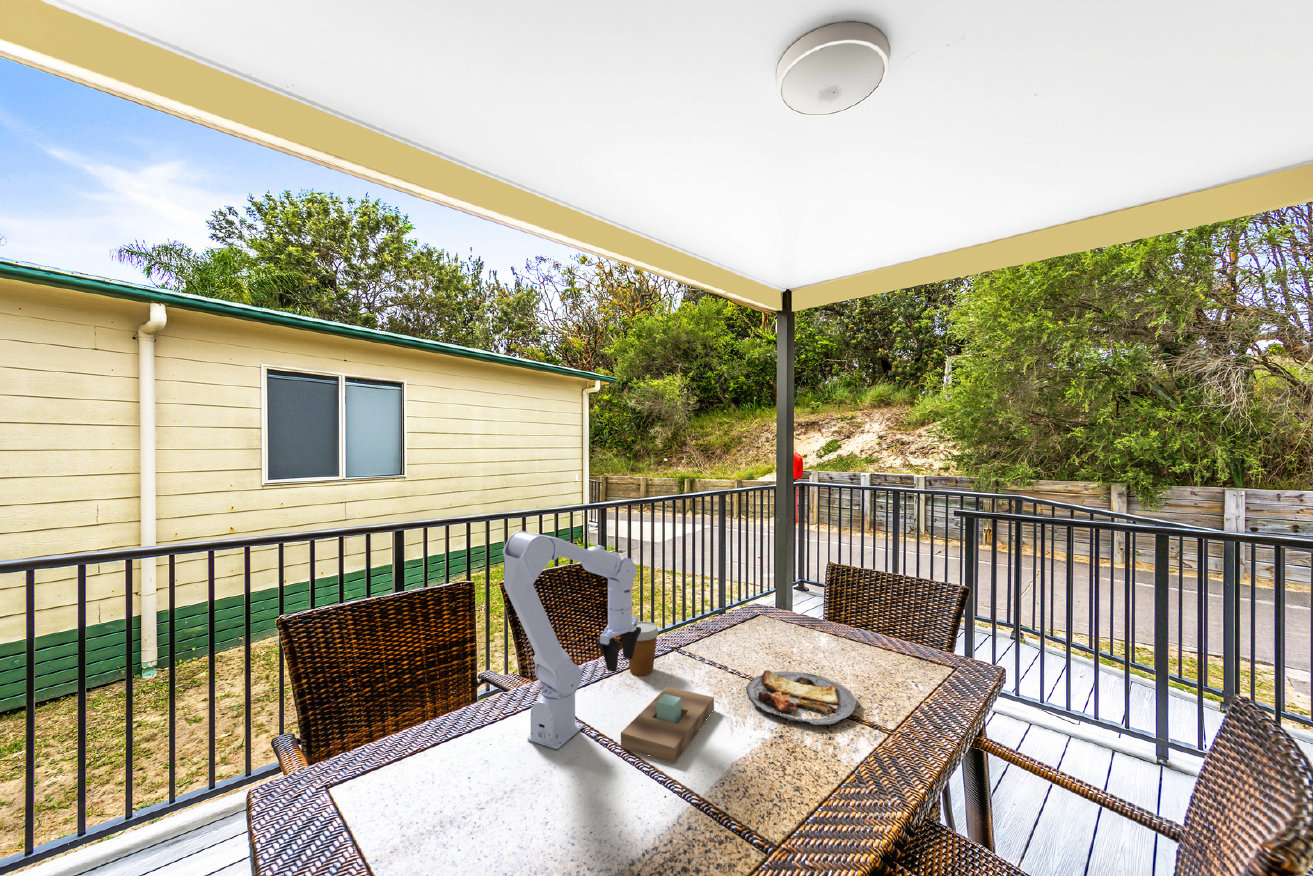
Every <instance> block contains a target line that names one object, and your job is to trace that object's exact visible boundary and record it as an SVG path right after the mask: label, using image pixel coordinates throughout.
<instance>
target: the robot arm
mask: <svg viewBox="0 0 1313 876" xmlns="http://www.w3.org/2000/svg"><path fill="white" fill-rule="evenodd" d="M502 554H503V558H504V568H503V569H504V574H503V587H504V590H505V592H506V593H507V596H508V598H509V600H510V602H511V604H512V606H513V609H514V611H515V613H516V616H517V617H518V619H519V621H520V624H521V626H522V628H523V631H524V632H525V634H526V637H527V639H528V641H529V643H530V645H531V648H532V649H533V652H534V653H535V654H534V656H533V657H532V659H533V660H532V661H533V662H534V666H535V667H534V668H535V669H534V675H535V677H536V679H537V680H538V681H539V682H540V695H539V697H538V698H537V700H536V702H535V703H534V704H533V705H532V706H531V708H530V734H529V736H527V737H526V738H527V741H529V742H533V743H536V744H538V745H539V744H540V745H542V746H544V747H547V748H551V749H555V750H558V749H560V748H561V747H562V746H563V745H564V744H566V743H567V742H568V741H569V740H570V739H572V738H573V736H575V735H576V734H577V733H578V732H579V731H581V730H582V729H583V728H584V723H580V722H576V693H577V690H578V688H579V687H580V684H581V683H582V678H583V675H582V670H581V668H580V666H578V664H576V663H574V661H572V660H573V659H572V658H571V656H570V655H569V654H568V653H567V652H566V651H565V649H564V648H563V647H562V646H561V644H560V641H559V640H558V637H557V635H556V633H555V630H554V628H553V626H552V624H551V621H550V620H549V617H548V615H547V613H546V610H545V608H544V605H543V604H542V601H541V599H540V597H539V595H538V592H537V590H536V588H535V586H534V583H535V582H536V581H537V579H538V577H539V576H540V575H541V574H542V572H543V571H544V570H545V569H546V567H547V566H548V564H549V563H550V561H551V560H552V561H555V560H557V559H558V558H559V557H561V558H566V559H568V560H572V561H575V562H579V563H581V565H582V568H583V569H584V570H585V571H586V572H589V573H592V574H595V575H598V576H601V577H605V578H606V579H607V625H606V627H605V628H604V630H603V632H602V633H601V634H599V639H598V640H597V646H598V647H599V649H600V651H601V653H602V656H603V658H604V663H605V665H606V669H607V671H609V672H613V673H616V672H617V669H618V663H619V655H620V654H619V653H620V650H621V647H622V654H623V658H624V659H626V660H629V659H632V658H633V654H634V650H635V645H636V642H637V639H638V637H639V634H640V633H641V628H640V627H636V626H637V625H638V622H639V616H634V615H633V594H632V593H633V592H632V591H633V587H634V580H635V578H636V576H637V573H638V568H637V567H636V564H635V562H634V561H633V559H631V558H629V557H625V556H621V555H619V554H620V553H619V552H617V551H612V552H611V551H608V550H605V546H603V545H599V544H596V546H595V545H593V546H589V547H588V548H587V549H586V548H584V547H582V546H579V545H577V544H575V543H572V542H570V541H567V540H564V539H562V538H560V537H555V536H550V535H547V534H546V535H544V534H540V533H539V534H538V533H533V532H532V533H531V532H528V531H525V530H519V531H515V532H513V533H512V534H511V535H510V536H509V537H508V538H507V541H506V543H505V544H504V547H503V549H502ZM618 636H620V639H621V642H619V641H617V640H616V637H618Z"/></svg>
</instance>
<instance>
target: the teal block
mask: <svg viewBox="0 0 1313 876" xmlns="http://www.w3.org/2000/svg"><path fill="white" fill-rule="evenodd" d="M657 719H660V720H664V721H668V722H672V723H676V724H678V722H679V721H680V720H681V698H680V697H676V696H671V695H667V694H664V695H663V696H662V697H661V698H660V699H659V700H658V701H657Z"/></svg>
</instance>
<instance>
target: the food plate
mask: <svg viewBox="0 0 1313 876" xmlns="http://www.w3.org/2000/svg"><path fill="white" fill-rule="evenodd" d="M745 692H746V694H747V697H748V700H749V701H750V702H751V703H752V705H753V706H755V707H759V708H761V711H762V712H766V713H770V714H771V715H772V714H774V715H777V716H780V717H781V718H782V719H783V718H784V719H787V721H789V722H790V721H791V722H792V721H795V722H801V723H803V722H806V723H809V724H811V725H817V726H818V725H822V726H823V725H833V724H835V723H838V722H840V720H844V719H845V718H847V717H850V716H851V715H852V714H853V713H854V711H855V710H856V704H857V701H858V700H857V698H856V697H855V695H853V692H851V691H850V690H849V689H848V688H847V687H846V686H844V685H842V684H841V683H839V682H836V681H834V680H831V679H829V678H828V677H825V676H822V675H818V674H814V673H813V674H812V673H808V672H807V673H805V672H799V671H796V672H795V671H789V670H788V671H785V670H783V671H774V672H772V671H770V670H769V669H768V670H767V669H766V670H764V671H763V673H762V674H761V675H758V676H756V677H755V678H753V679H751V681H750V682H748V684H747V685H746V687H745ZM834 706H836V710H835V713H834V714H832V715H831V713H832V712H833V711H832V710H833V708H834ZM780 712H781V713H780ZM808 712H809V713H811V712H814V713H816V714H821V715H824V716H826V717H823V718H811V719H810V718H809V719H808V718H802V717H801V718H800V717H797V718H796V717H795V716H793V717H792V716H791V715H793V714H797V715H799V714H804V713H808ZM782 713H784V714H787V715H784V714H782ZM780 714H781V715H780ZM828 714H829V715H830V716H827V715H828Z"/></svg>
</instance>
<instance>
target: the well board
mask: <svg viewBox="0 0 1313 876" xmlns="http://www.w3.org/2000/svg"><path fill="white" fill-rule="evenodd" d="M664 694H667V695H671V696H676V697H680V698H681V720H680V721H679V722H678V724H676V723H672V722H668V721H664V720H660V719H657V701H658V700H659V699H660V698H661V697H662V696H663V695H664ZM714 697H715V696H714ZM714 697H713V696H710V695H706V694H702V693H697V692H693V691H688V690H683V689H680V688H675V687H670V686H666V687H665V688H664V689H663V690H662V691H661V692H660V693H659V694H658V695H657V696H656V697H655V698H654V699H653V700H652V701H651V702H650V703H649V704H648V705H647V706H646V707H645V708H644V709H643V710H642V711H641V712H640V713H639V714H638V715H637V716H636V717H635V718H634V719H633V720H632V721H631V722H630V723H629V724H628V725H627V726H626V727H625V728H624V729H623V730H622V731H621V732H620V748H621V747H622V748H621V749H624V750H627V751H630V752H633V751H635V752H634V753H637V752H638V753H637V754H640V753H641V754H640V755H643V754H644V756H647V755H650V756H651V758H653V757H654V759H656V760H657V759H658V760H660V761H663V760H664V761H663V762H668V763H671V764H673V765H676V763H677V762H678V760H679V759H680V758H681V756H682V755H683V754H684V752H685V750H686V749H687V748H688V747H689V744H690V743H691V742H692V741H693V740H694V738H695V737H696V735H697V734H698V733H697V732H699V731H700V730H701V729H702V727H703V726H704V725H705V723H706V722H707V721H706V719H707V718H708V717H709V718H710V716H711V715H712V714H713V712H714V711H715V700H714V699H715V698H714ZM713 710H714V711H713ZM712 711H713V712H712ZM711 713H712V714H711ZM710 714H711V715H710ZM709 715H710V716H709ZM709 718H708V719H709ZM708 719H707V720H708ZM705 721H706V722H705ZM703 724H704V725H703ZM702 725H703V726H702ZM700 728H701V729H700ZM699 729H700V730H699ZM650 756H649V757H650Z"/></svg>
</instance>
